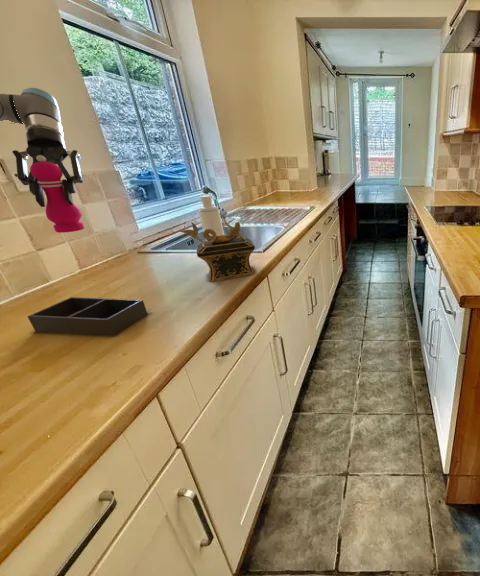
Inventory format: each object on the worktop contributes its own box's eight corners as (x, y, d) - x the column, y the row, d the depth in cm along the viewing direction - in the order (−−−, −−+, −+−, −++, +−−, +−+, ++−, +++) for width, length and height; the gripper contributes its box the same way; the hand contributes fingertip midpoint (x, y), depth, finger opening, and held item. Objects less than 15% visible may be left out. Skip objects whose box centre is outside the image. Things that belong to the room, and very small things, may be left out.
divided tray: (36, 333, 74) (27, 316, 72) (78, 312, 83) (71, 296, 82) (114, 337, 72) (106, 320, 71) (148, 315, 82) (142, 299, 80)
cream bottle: (221, 261, 120) (205, 193, 110) (206, 259, 122) (189, 192, 112) (232, 255, 126) (218, 190, 116) (218, 254, 128) (203, 190, 117)
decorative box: (255, 266, 115) (245, 211, 107) (260, 275, 107) (249, 216, 99) (192, 276, 106) (176, 217, 98) (192, 286, 98) (175, 223, 90)
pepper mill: (52, 230, 92) (20, 155, 84) (85, 225, 96) (57, 154, 88) (53, 234, 87) (19, 155, 79) (88, 230, 92) (59, 155, 84)
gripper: (91, 146, 99) (102, 208, 93) (8, 146, 90) (15, 214, 84) (81, 126, 93) (93, 191, 87) (-9, 124, 84) (-2, 196, 78)
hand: (55, 202), depth 85 cm, fingers closed on pepper mill, 5 cm apart
